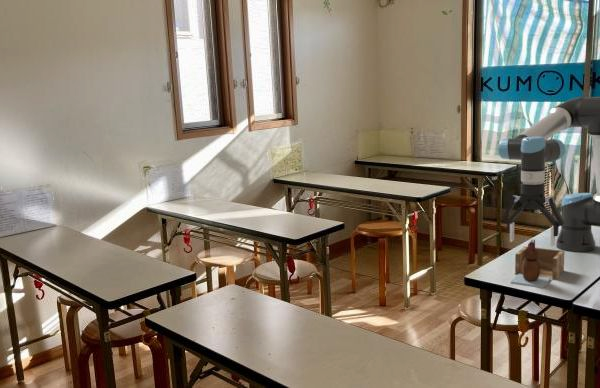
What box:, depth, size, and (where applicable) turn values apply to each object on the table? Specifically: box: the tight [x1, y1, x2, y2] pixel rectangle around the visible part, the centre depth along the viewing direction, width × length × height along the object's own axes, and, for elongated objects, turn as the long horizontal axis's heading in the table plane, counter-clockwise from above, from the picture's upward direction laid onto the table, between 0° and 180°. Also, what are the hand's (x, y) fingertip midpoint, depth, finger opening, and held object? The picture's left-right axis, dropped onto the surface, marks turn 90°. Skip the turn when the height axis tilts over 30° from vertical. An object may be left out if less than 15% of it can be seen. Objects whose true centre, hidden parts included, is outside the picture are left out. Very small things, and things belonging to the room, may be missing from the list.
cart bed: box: [514, 246, 565, 281], centre depth 215 cm, size 13×14×9 cm
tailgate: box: [510, 274, 552, 289], centre depth 206 cm, size 1×11×10 cm
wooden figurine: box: [522, 239, 540, 281], centre depth 205 cm, size 7×6×15 cm
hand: (532, 243), depth 204 cm, fingers open, 13 cm apart
